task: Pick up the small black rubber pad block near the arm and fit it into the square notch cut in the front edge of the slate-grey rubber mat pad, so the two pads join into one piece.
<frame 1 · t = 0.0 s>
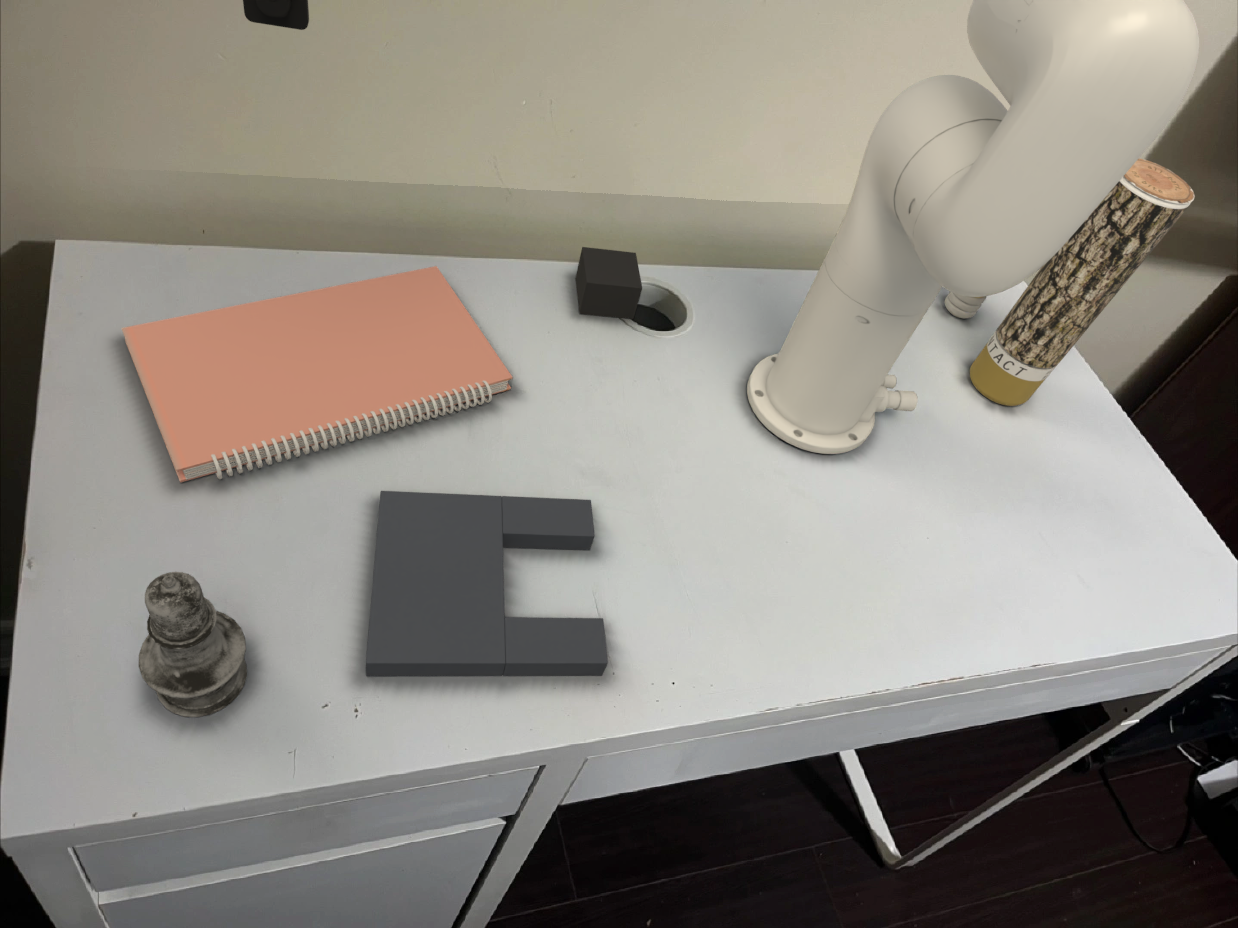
light bulb: (956, 312, 99), on the table
paper tube: (995, 387, 92), on the table
chess piece: (202, 679, 55), on the table
mat pad: (487, 587, 63), on the table
notebook: (328, 374, 73), on the table
pad piece: (603, 298, 87), on the table
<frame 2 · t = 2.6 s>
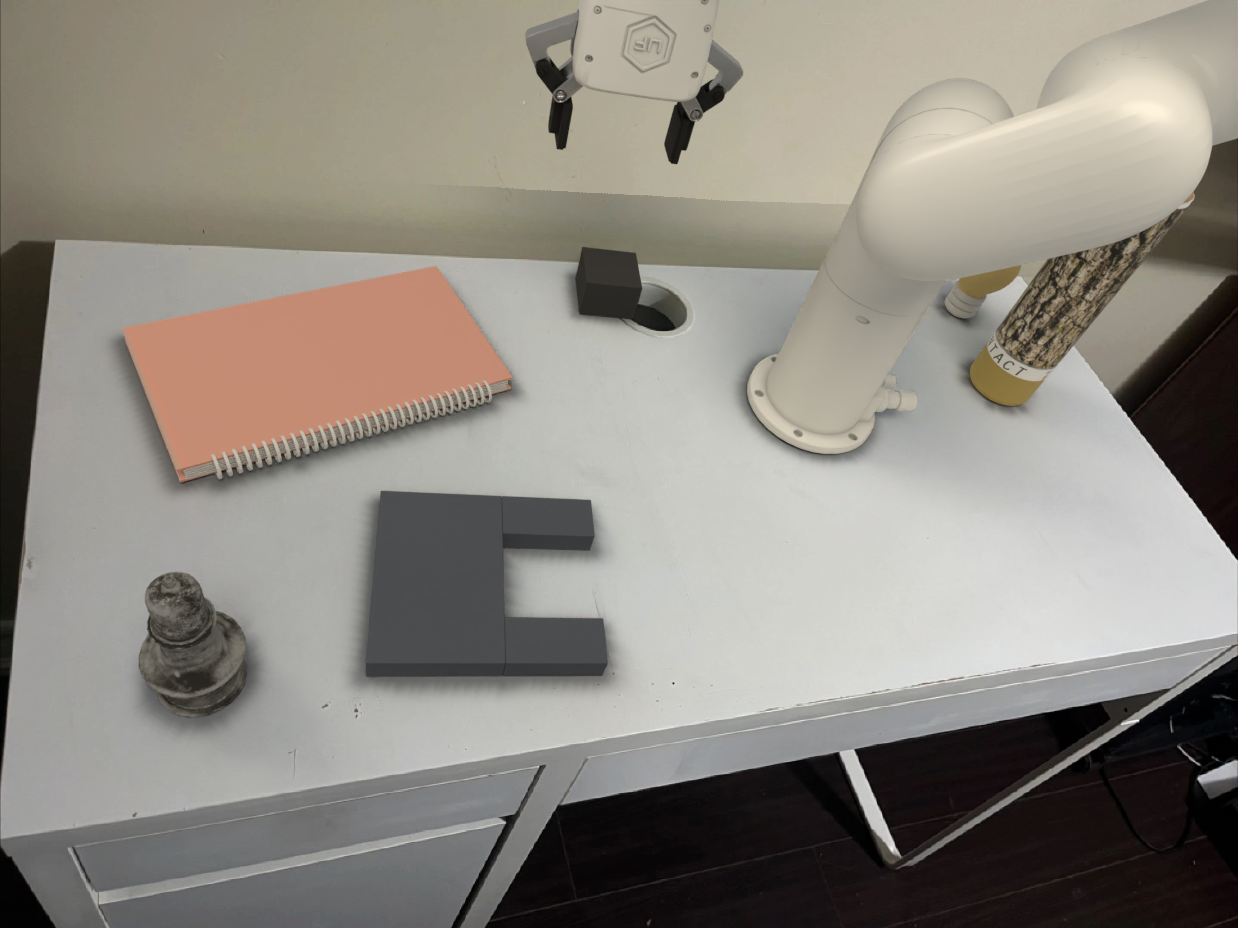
hand: (615, 148, 73), 17 cm above the table, tool pointing down, fingers open, 9 cm apart
nothing on the table moved.
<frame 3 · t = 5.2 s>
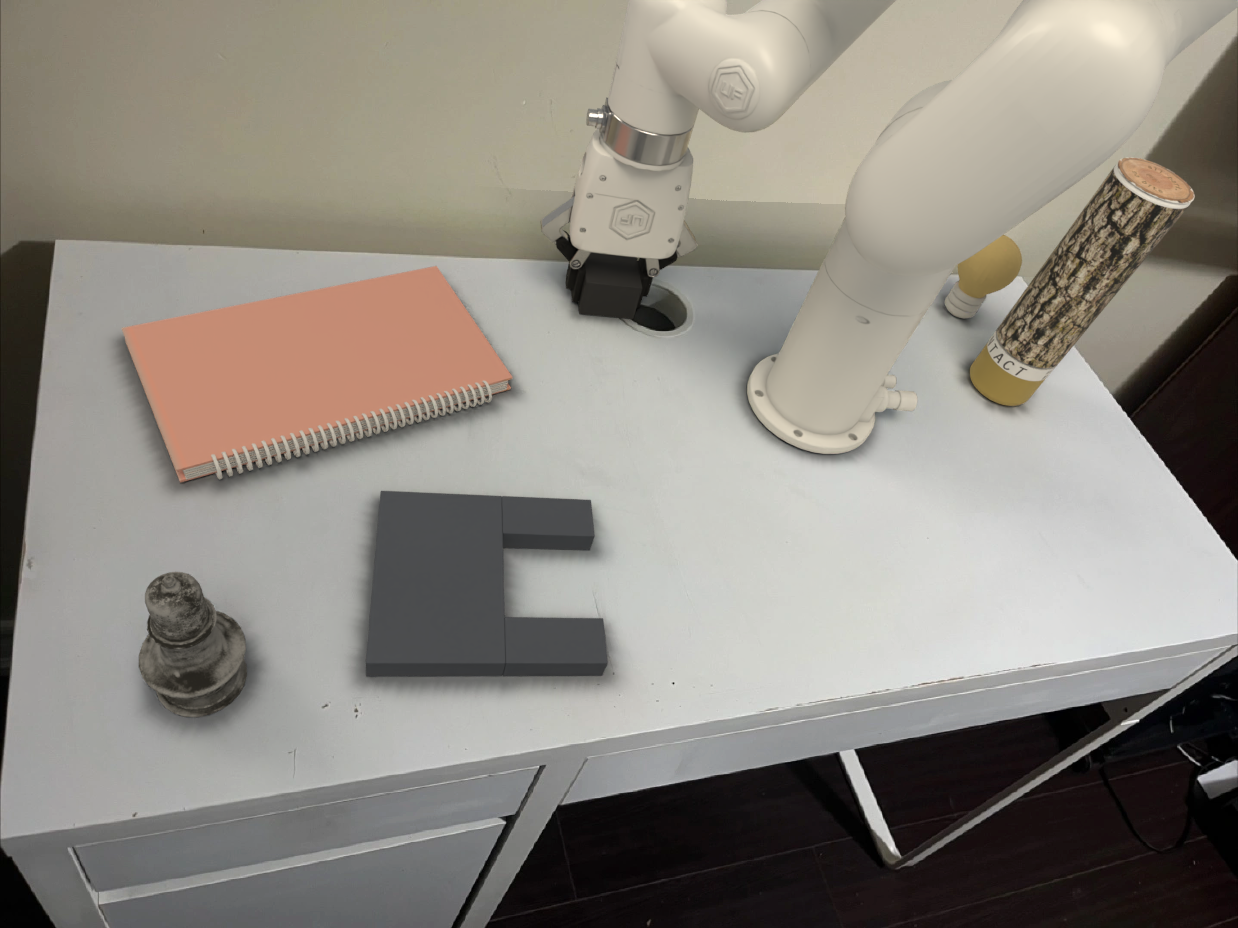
hand: (604, 294, 86), 1 cm above the table, tool pointing down, fingers closed on pad piece, 5 cm apart
pad piece: (603, 298, 87), on the table, touching gripper
everything else where it was.
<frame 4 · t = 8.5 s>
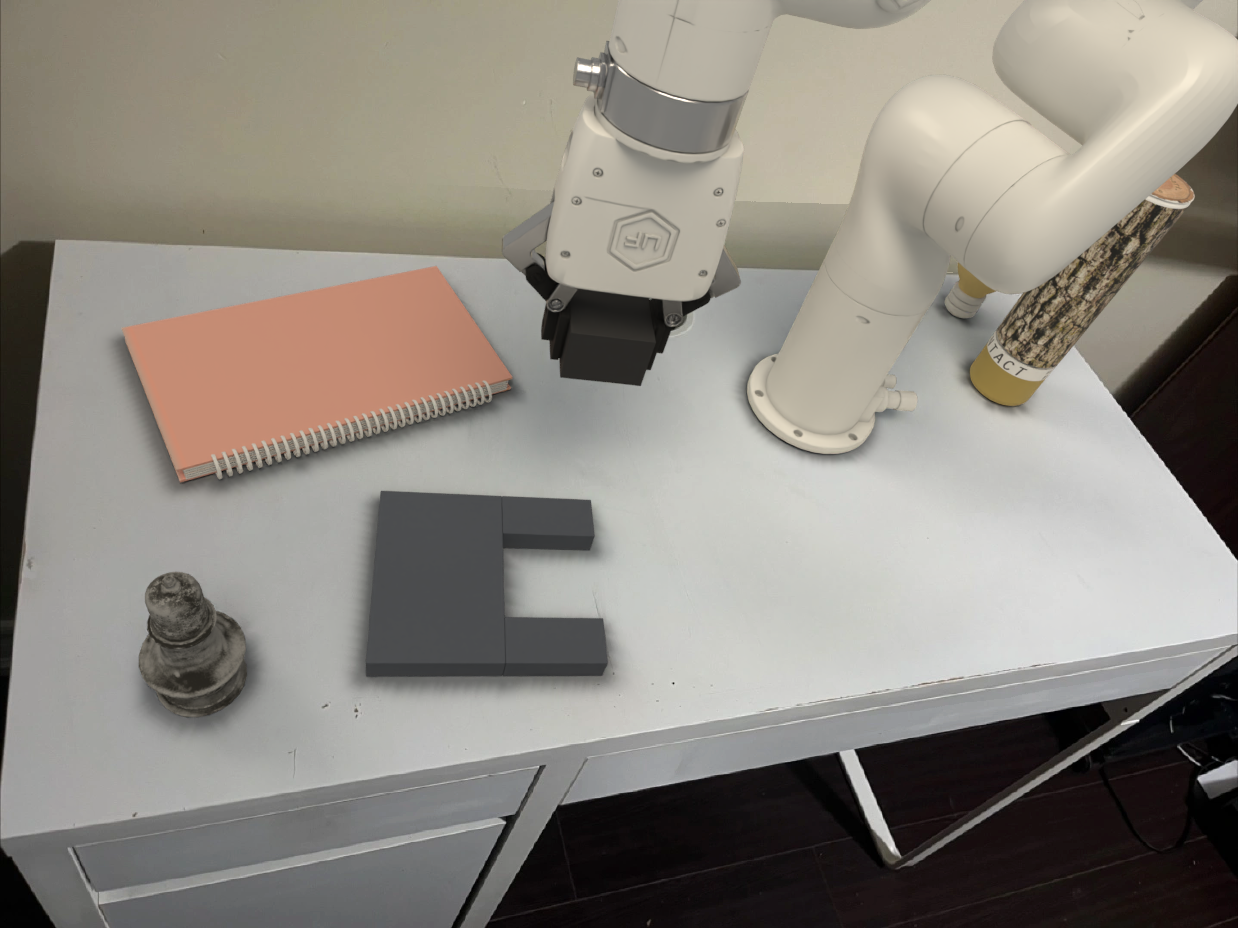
hand: (599, 348, 58), 16 cm above the table, tool pointing down, fingers closed on pad piece, 5 cm apart
pad piece: (598, 353, 59), point 15 cm above the table, touching gripper
everything else where it was.
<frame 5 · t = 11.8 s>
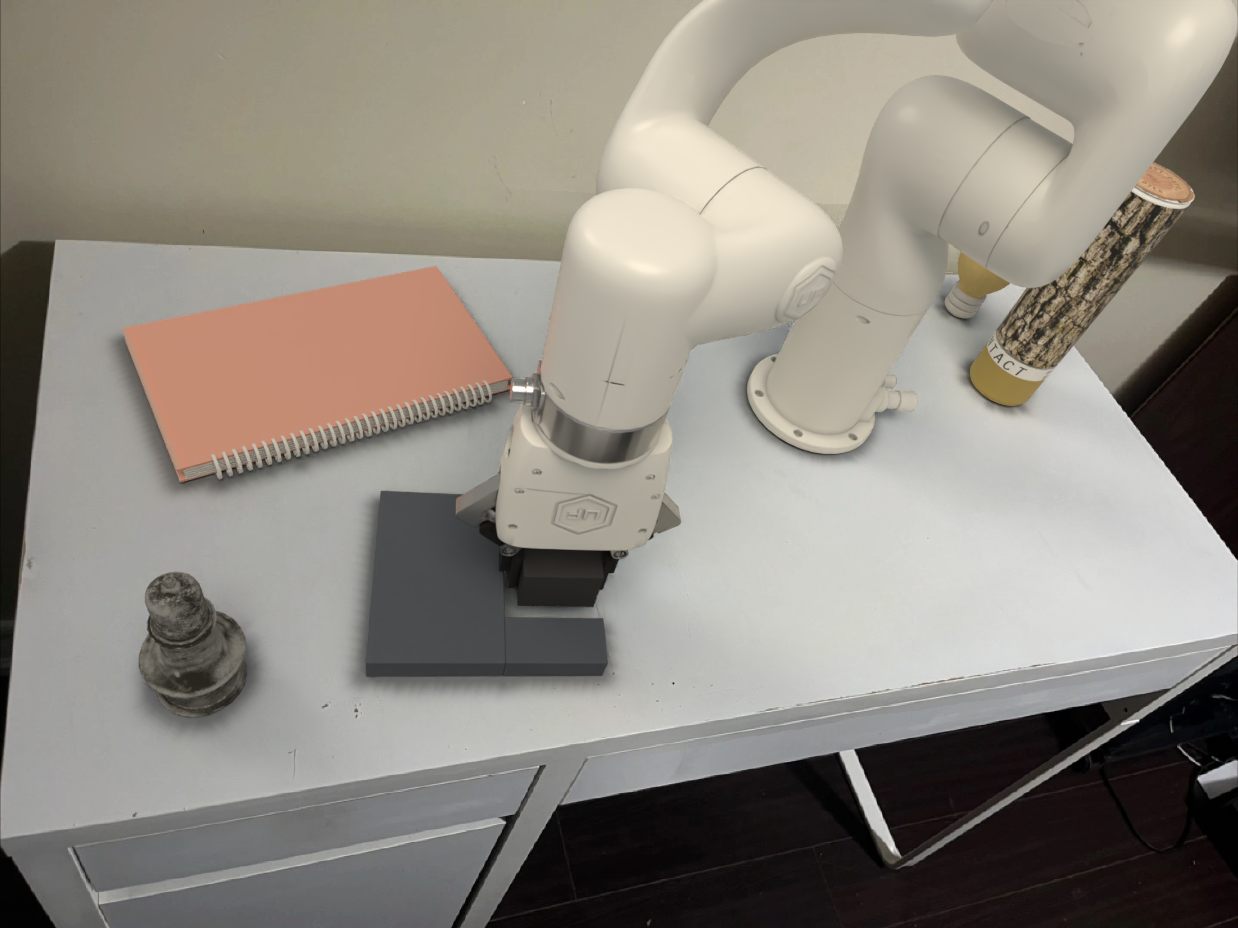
hand: (554, 570, 62), 2 cm above the table, tool pointing down, fingers closed on pad piece, 5 cm apart
pad piece: (553, 573, 63), point 2 cm above the table, touching gripper
everything else where it was.
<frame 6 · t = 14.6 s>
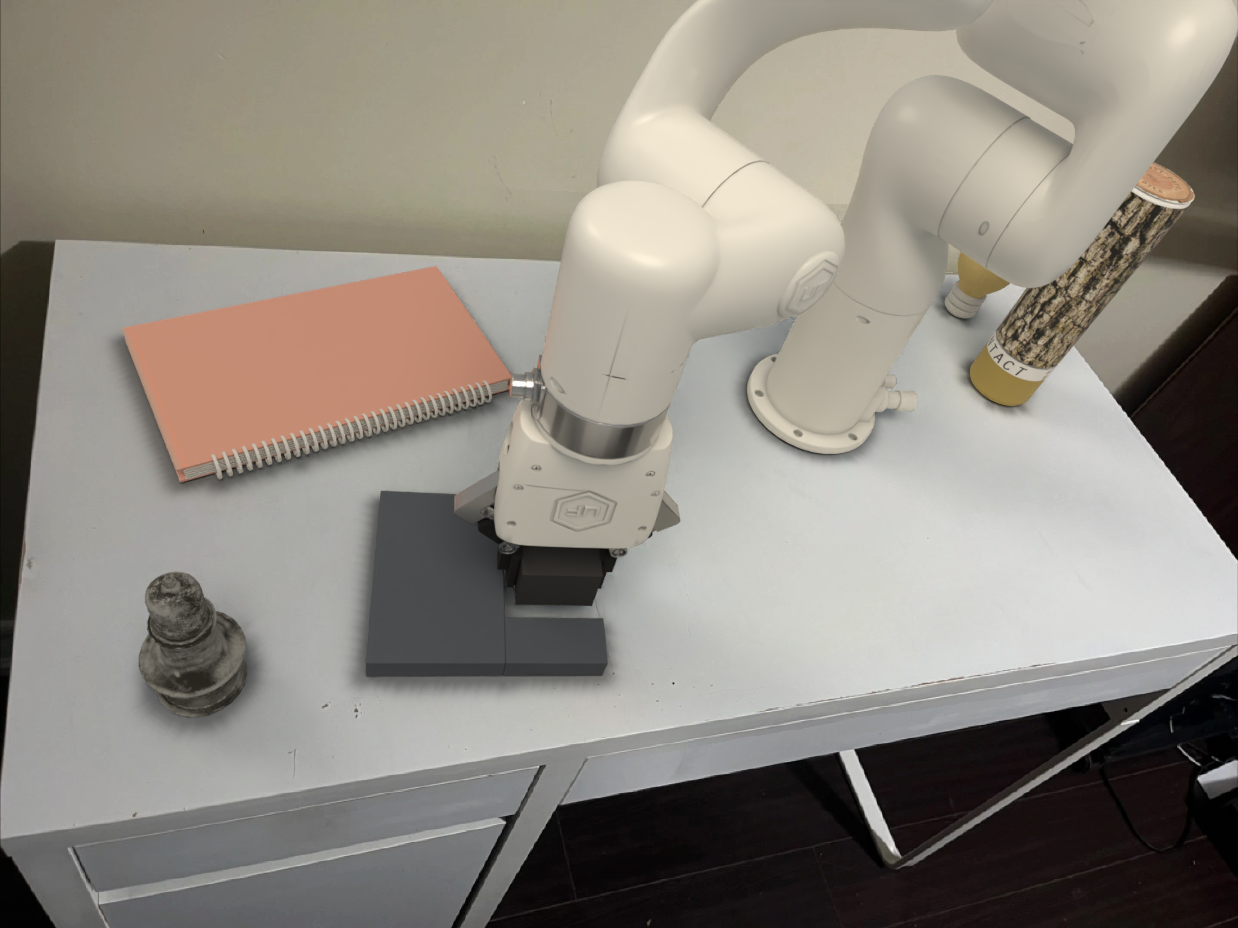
hand: (553, 569, 62), 3 cm above the table, tool pointing down, fingers closed on pad piece, 5 cm apart
pad piece: (551, 572, 62), point 2 cm above the table, touching gripper
everything else where it was.
when the fingers open (3 cm above the table, at t = 16.9 s): pad piece drops 2 cm, on the table.
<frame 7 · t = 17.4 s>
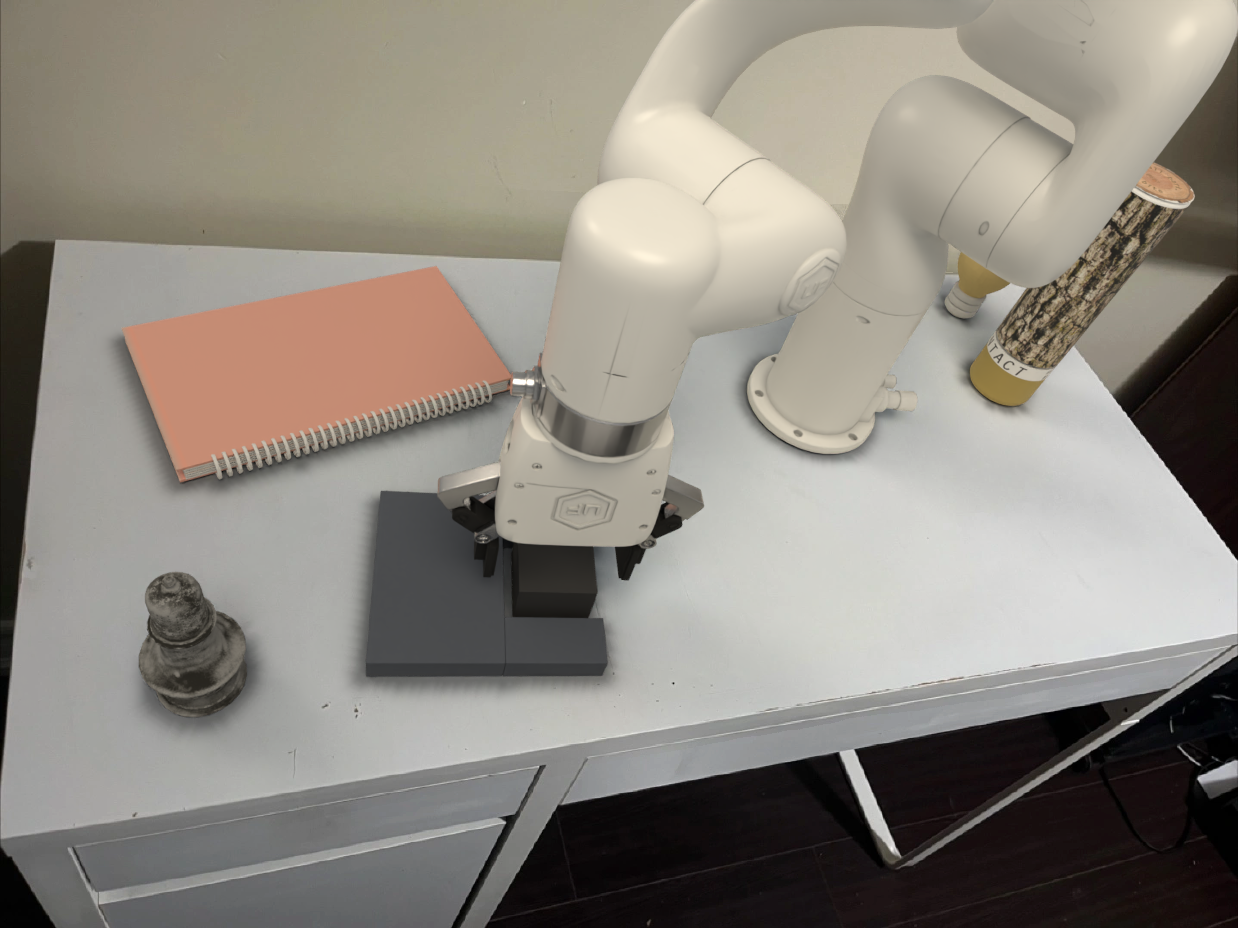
hand: (555, 561, 61), 4 cm above the table, tool pointing down, fingers open, 9 cm apart
pad piece: (548, 588, 64), on the table
everything else where it was.
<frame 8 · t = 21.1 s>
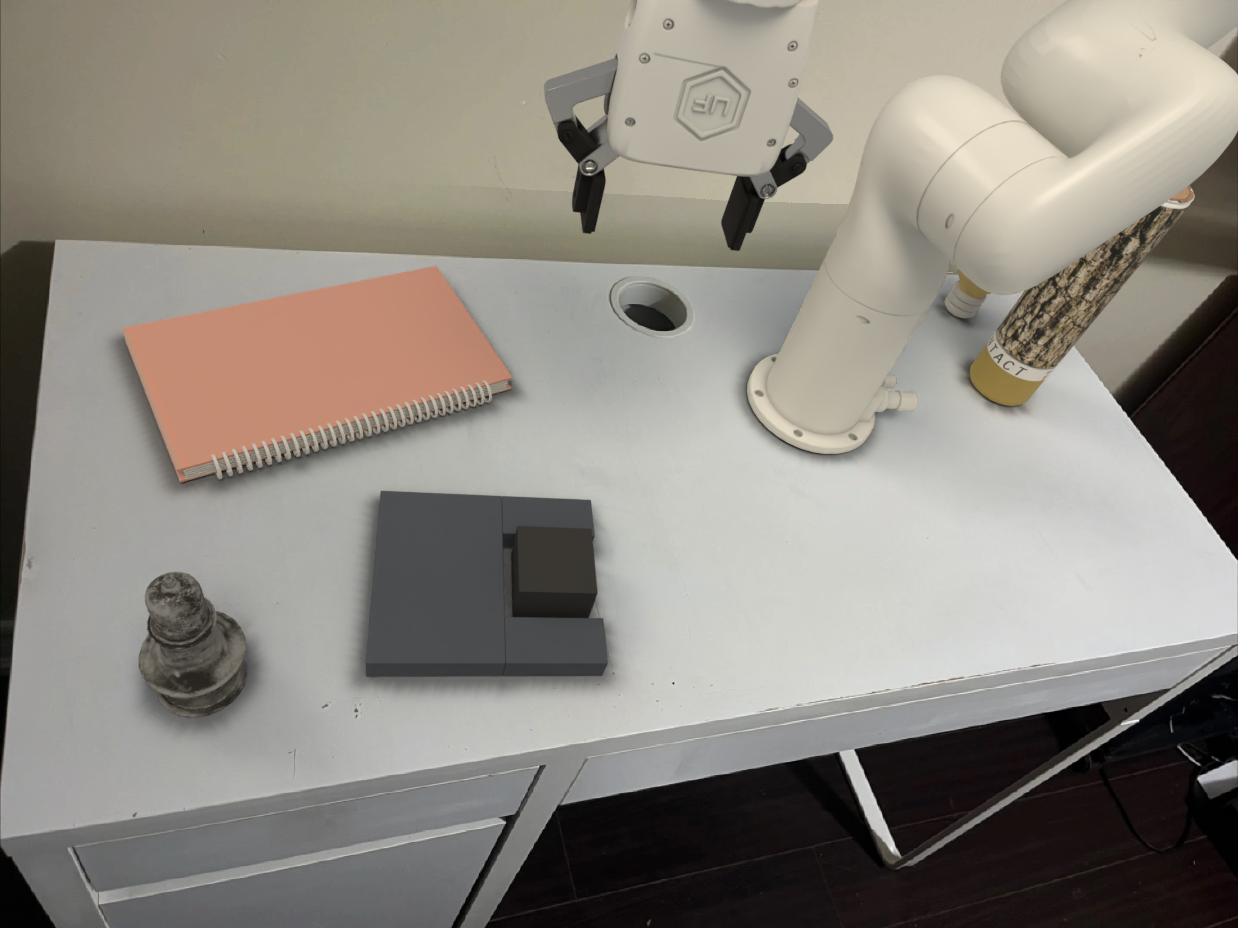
hand: (659, 229, 56), 23 cm above the table, tool pointing down, fingers open, 9 cm apart
nothing on the table moved.
at the end: pad piece 0.1 cm from the target spot on the mat pad, point 0.0 cm above the mat pad's base; pad piece tilted 0° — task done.
